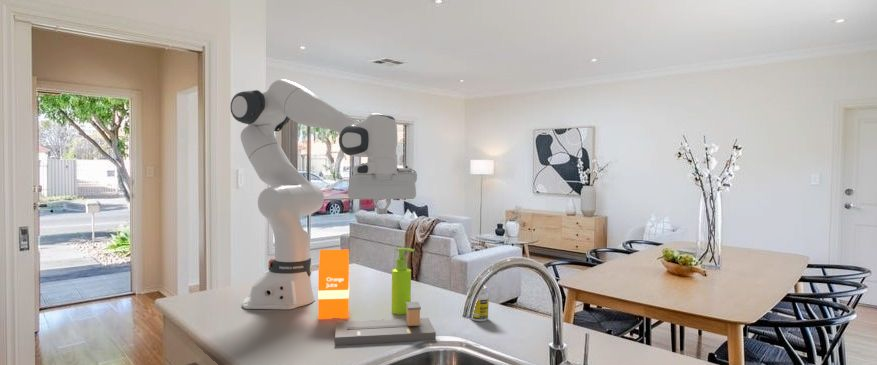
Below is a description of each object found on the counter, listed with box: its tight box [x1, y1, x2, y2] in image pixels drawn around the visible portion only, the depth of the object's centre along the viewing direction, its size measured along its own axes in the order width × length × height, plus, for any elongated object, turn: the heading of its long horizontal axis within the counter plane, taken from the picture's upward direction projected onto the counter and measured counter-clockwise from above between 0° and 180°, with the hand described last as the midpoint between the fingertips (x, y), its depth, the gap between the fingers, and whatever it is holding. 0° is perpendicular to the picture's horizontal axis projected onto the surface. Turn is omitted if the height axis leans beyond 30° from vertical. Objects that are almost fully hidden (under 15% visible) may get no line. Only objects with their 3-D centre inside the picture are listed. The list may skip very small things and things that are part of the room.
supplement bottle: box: [471, 285, 490, 322], centre depth 145 cm, size 5×5×10 cm
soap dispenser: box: [391, 247, 415, 316], centre depth 150 cm, size 6×7×20 cm
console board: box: [334, 317, 437, 346], centre depth 131 cm, size 26×12×2 cm, turn 100°
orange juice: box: [317, 248, 350, 320], centre depth 146 cm, size 8×9×20 cm
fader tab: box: [405, 301, 421, 326], centre depth 132 cm, size 3×5×5 cm, turn 11°
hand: (382, 214), depth 144 cm, fingers closed
